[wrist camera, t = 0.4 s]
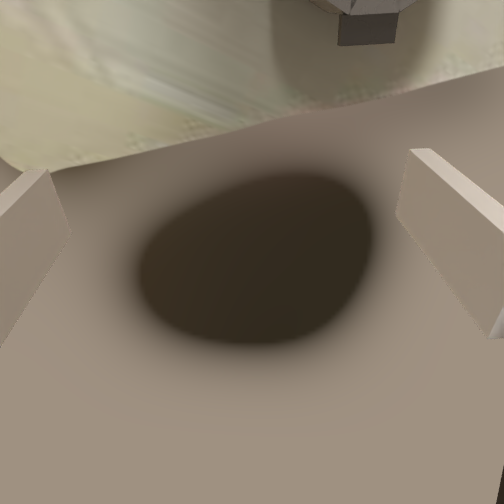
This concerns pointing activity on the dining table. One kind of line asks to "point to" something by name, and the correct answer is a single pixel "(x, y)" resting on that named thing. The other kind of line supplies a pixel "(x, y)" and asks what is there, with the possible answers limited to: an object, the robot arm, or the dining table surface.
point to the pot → (365, 19)
